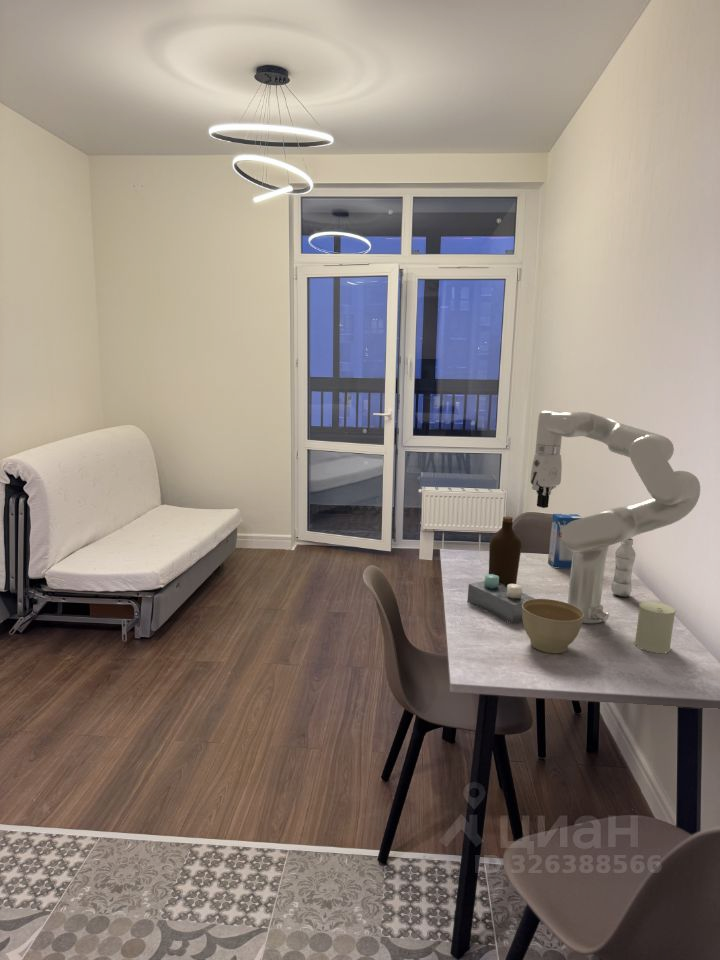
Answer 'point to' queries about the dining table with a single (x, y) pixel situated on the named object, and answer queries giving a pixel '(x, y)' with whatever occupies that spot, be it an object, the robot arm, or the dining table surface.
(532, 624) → the planter bowl
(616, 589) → the plastic bottle
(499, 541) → the olive oil
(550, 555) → the milk carton
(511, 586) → the cream knob
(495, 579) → the teal knob
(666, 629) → the can
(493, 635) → the dining table surface
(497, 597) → the mount block
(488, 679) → the dining table surface
